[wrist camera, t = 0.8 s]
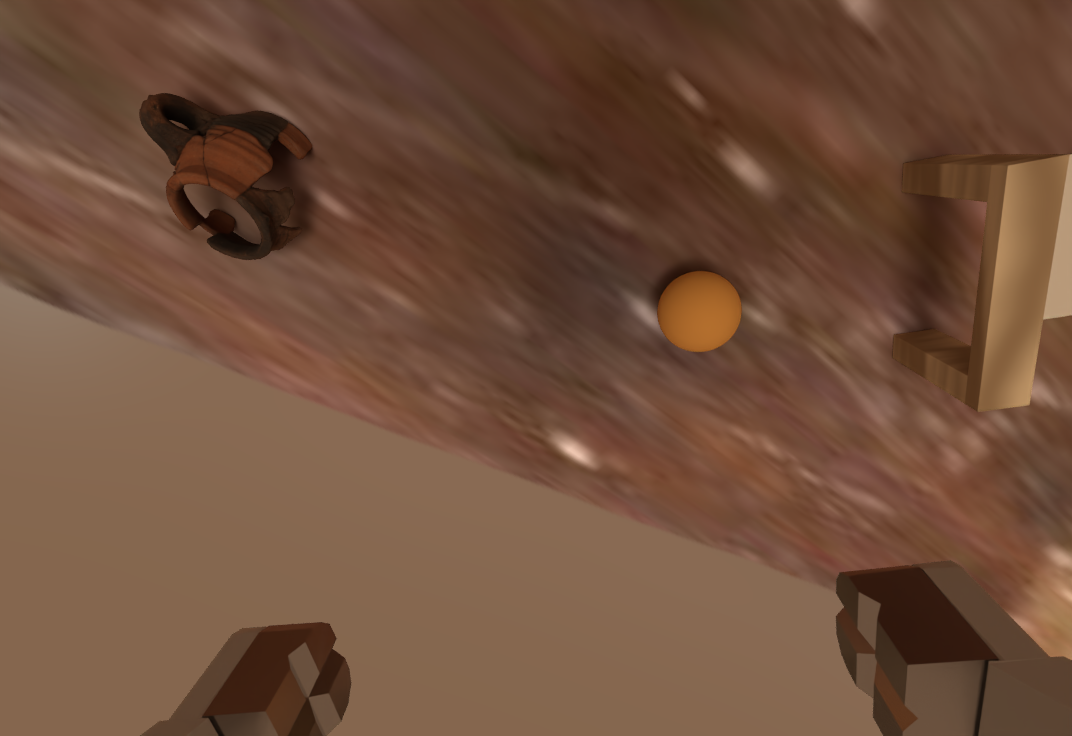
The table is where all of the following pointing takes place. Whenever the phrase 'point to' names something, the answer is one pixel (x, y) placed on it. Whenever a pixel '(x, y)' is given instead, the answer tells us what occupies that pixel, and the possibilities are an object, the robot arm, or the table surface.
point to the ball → (699, 311)
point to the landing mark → (1062, 259)
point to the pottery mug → (225, 168)
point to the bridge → (993, 274)
